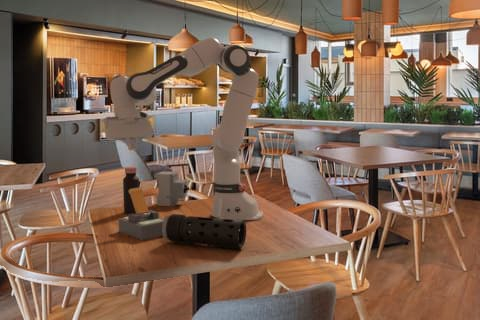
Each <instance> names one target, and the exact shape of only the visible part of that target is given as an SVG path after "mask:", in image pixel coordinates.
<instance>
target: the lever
mask: <svg viewBox="0 0 480 320" xmlns="http://www.w3.org/2000/svg"><path fill="white" fill-rule="evenodd" d="M129 194H130V195H131V198H132V201H133V205H134V208H135V211H136V215H139V216H140V219H144V218H149V217H151V213H150V212H149V208H148V204H147V203H146V199H145V196H144V192H143V187H142V186H139V188H132V189H130V190H129Z"/></svg>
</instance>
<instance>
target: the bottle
mask: <svg viewBox="0 0 480 320" xmlns="http://www.w3.org/2000/svg"><path fill="white" fill-rule="evenodd" d="M124 173H125V177H123V179H122V185H123V186H122V187H123V188H122V189H123V192H122V193H123V213H124V214H127V215H128V214H132V213H133V214H136V211H135V208H134V205H133V201H132V198H131V195H130V194H129V190H130V189H132V188H139V187H140V179H139V177H138V176H137V167H136V166H126V167H124ZM136 215H137V214H136Z"/></svg>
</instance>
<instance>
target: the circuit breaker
mask: <svg viewBox="0 0 480 320" xmlns="http://www.w3.org/2000/svg"><path fill="white" fill-rule="evenodd" d="M155 179H156V184H157V185H158V195H156V204H157V205H156V206H161V207H175V206H176V205H178V204H179V201H180V200H179V199H181V200H182V199H185V198H186V197H187V196H188V191H189V190H190V186H188V180H187V179H179V171H161V172H158V173H156V178H155ZM174 203H175V204H174Z"/></svg>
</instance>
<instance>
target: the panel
mask: <svg viewBox="0 0 480 320" xmlns="http://www.w3.org/2000/svg"><path fill="white" fill-rule="evenodd" d="M148 211H149V212H150V213H151V217H149V218H144V219H140V216H139V215H137V214H133V213H132V214H127V216H125V217H122V218H120V217H119V218H118V232H120V233H122V234H124V235H127V236H129V237H132V238H135V239H138V240H139V241H140V240H141V241H144V240H150V239H154V238H158V237H162V236H163V234H162V225H163V221H164V219H165V218H161V217H159V212H158V211H156V210H153V209H150V210H149V209H148Z"/></svg>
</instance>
